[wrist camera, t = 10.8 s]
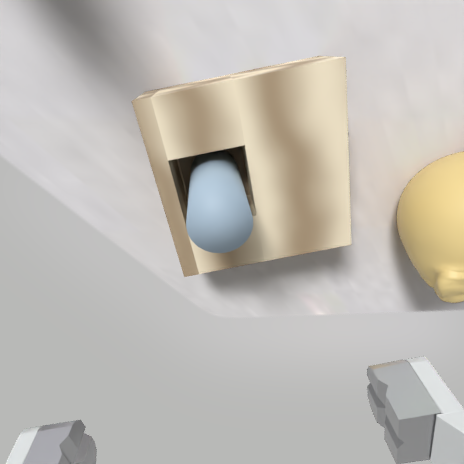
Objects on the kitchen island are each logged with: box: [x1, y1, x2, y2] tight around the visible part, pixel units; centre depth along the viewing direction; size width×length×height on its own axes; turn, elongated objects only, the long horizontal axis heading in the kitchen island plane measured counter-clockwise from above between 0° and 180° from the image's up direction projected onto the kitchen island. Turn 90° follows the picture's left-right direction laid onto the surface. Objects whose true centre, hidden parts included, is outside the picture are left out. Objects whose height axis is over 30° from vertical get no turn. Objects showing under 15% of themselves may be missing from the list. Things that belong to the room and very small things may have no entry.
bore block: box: [132, 56, 351, 277], centre depth 29 cm, size 14×14×6 cm
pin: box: [186, 150, 253, 253], centre depth 25 cm, size 4×4×10 cm
